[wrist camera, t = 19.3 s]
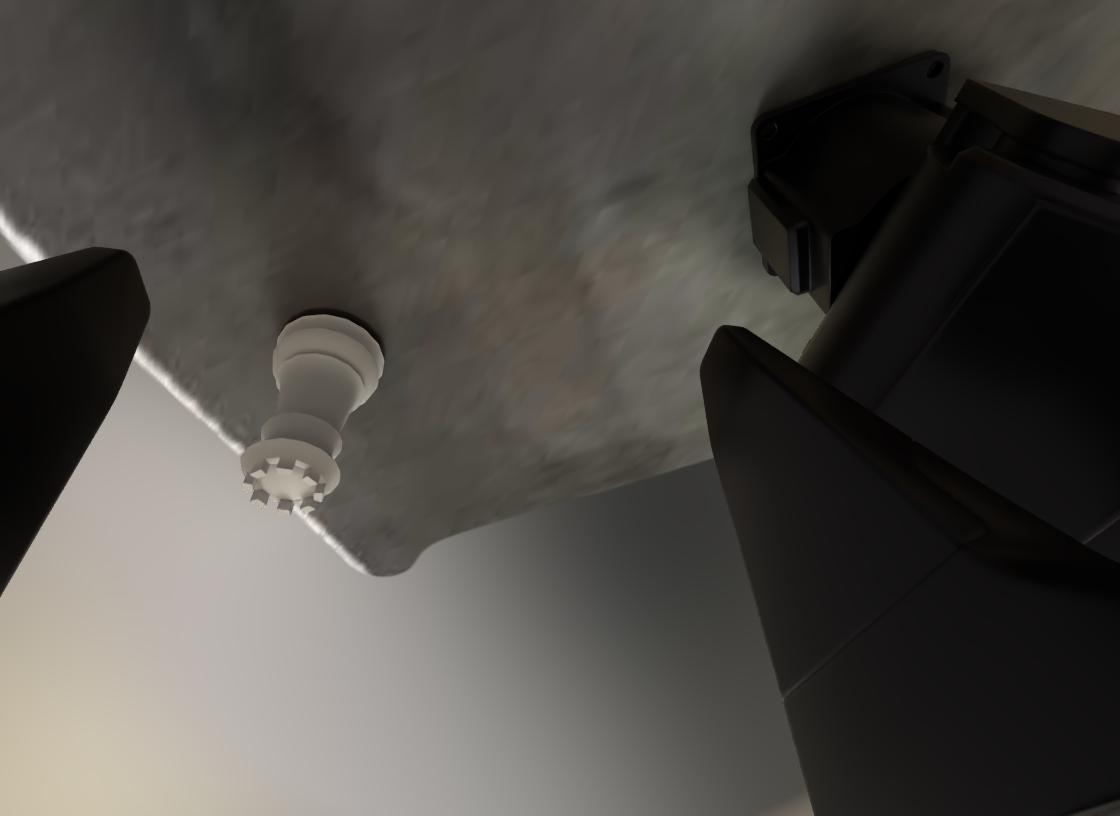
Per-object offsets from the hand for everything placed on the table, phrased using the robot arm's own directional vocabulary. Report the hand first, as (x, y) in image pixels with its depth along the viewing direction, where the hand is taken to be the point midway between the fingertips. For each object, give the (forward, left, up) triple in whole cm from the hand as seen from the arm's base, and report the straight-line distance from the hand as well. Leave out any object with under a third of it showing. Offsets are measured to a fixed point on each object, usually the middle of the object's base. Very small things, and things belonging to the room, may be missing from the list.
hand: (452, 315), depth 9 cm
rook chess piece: (+10, +7, -13) cm, 18 cm away
